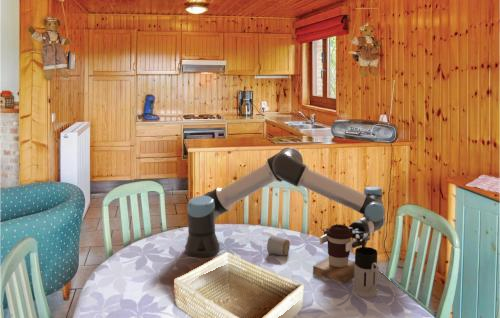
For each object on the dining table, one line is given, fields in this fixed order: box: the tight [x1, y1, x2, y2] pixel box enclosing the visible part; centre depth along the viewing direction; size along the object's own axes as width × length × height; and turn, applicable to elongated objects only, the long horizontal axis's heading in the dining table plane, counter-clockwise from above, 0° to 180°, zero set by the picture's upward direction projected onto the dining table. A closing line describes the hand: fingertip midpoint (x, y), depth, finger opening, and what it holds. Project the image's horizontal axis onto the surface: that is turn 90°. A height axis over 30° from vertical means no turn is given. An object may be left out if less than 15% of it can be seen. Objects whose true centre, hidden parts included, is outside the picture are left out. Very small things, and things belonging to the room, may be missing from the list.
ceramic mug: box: [266, 235, 291, 256], centre depth 190 cm, size 11×8×8 cm
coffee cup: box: [325, 223, 353, 267], centre depth 169 cm, size 10×10×15 cm
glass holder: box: [351, 246, 380, 298], centre depth 152 cm, size 9×14×15 cm, turn 8°
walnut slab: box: [312, 256, 355, 285], centre depth 170 cm, size 14×14×3 cm
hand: (333, 244), depth 165 cm, fingers open, 10 cm apart
